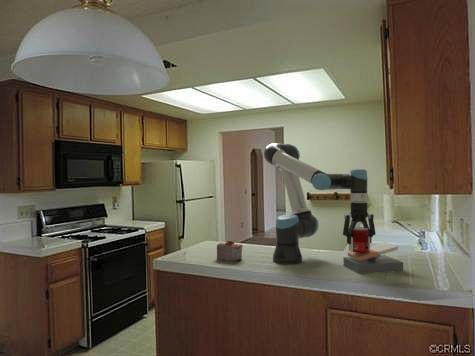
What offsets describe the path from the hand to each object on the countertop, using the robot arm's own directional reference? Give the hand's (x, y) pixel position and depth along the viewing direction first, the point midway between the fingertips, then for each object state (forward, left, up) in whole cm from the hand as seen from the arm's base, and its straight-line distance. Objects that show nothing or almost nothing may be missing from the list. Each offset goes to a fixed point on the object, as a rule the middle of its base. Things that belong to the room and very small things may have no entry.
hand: (359, 250), depth 153 cm
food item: (-57, +29, -9) cm, 65 cm away
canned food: (0, 0, -1) cm, 1 cm away
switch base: (+7, 0, -9) cm, 11 cm away
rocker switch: (+7, 0, -2) cm, 7 cm away
